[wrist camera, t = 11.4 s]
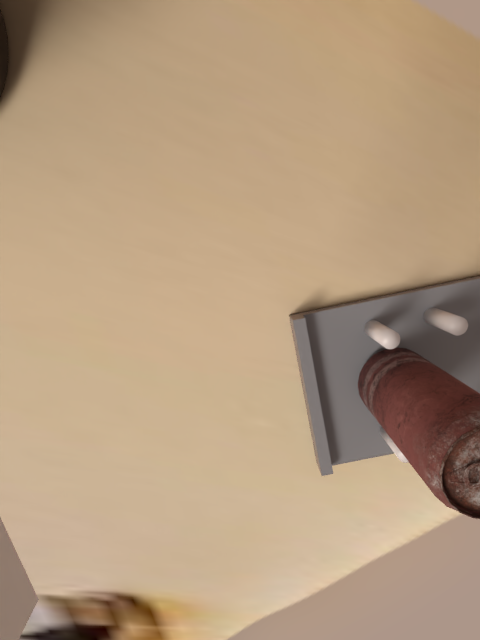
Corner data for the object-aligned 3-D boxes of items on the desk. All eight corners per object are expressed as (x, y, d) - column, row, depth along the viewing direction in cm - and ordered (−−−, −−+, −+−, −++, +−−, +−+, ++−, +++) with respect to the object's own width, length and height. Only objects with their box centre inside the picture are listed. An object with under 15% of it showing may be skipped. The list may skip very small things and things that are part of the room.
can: (443, 376, 34) (582, 468, 21) (389, 426, 35) (487, 547, 22) (396, 328, 34) (508, 392, 20) (341, 381, 34) (411, 477, 21)
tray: (289, 315, 34) (298, 328, 29) (500, 271, 34) (545, 276, 29) (316, 462, 37) (329, 496, 32) (512, 423, 36) (555, 452, 32)
